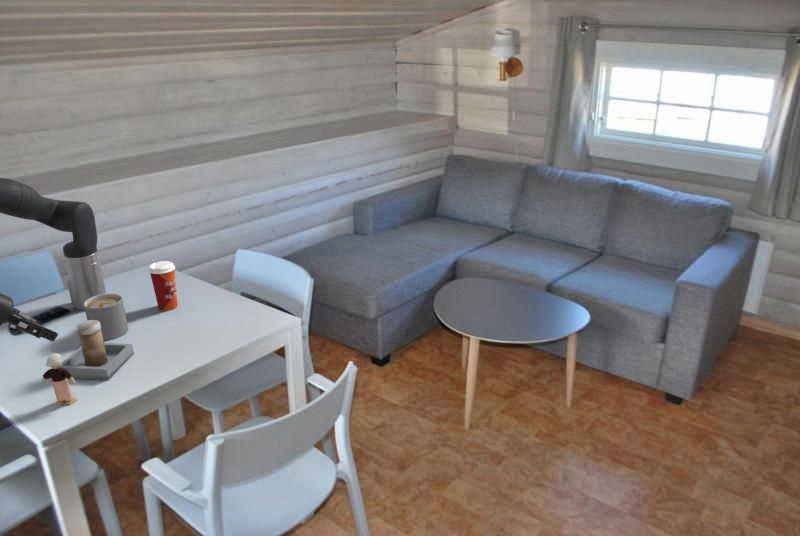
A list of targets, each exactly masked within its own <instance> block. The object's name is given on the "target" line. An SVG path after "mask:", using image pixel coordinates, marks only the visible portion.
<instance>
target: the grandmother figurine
mask: <svg viewBox="0 0 800 536" xmlns="http://www.w3.org/2000/svg"><path fill="white" fill-rule="evenodd" d="M62 363H63V359H62V355H61V354H59V353H57V352H55V353H53V354H51V355H49V356H48V358H47V360H46V363H45V365H46V367H47V368H49V369H47V370H46V371H45V372H44V373H43V374H42V380H41V382H42V384H47V383H48V379H51V382H52V387H53V391H54V394H55V397H56V400H57V401H56V406H61V405H64V404H65V405H67V406H71V405H73V404H75V403H76V402H77V401H79V400H78V398H77V397H76V396H73V394H72V390H71V386H72V385H75V384H76V383H77V381H76V380H75V378H73V377H72V375H71V374H70V373H69V372H68V371H67V370H66V369H64V368H61V365H62ZM69 383H70V384H71V386H70V384H69Z"/></svg>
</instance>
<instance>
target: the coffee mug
mask: <svg viewBox="0 0 800 536" xmlns="http://www.w3.org/2000/svg"><path fill="white" fill-rule="evenodd" d="M124 305H125V304H124V299H123V297H122V295H120V294H118V293H106V294H101V295H97V296H94V297H91V298H89V299H88V300H86V301H85V302H84V308H85V310H84V311H85V316H86V321H88V320H98V321H99V322H100V325H101V332H102V337H103V341H105V342H106V341H111V340H116V339H118V338H121V337H122V336H124V335H126V334H127V333H128V331H129V326H128V320H127V315H126V311H125V306H124Z"/></svg>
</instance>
